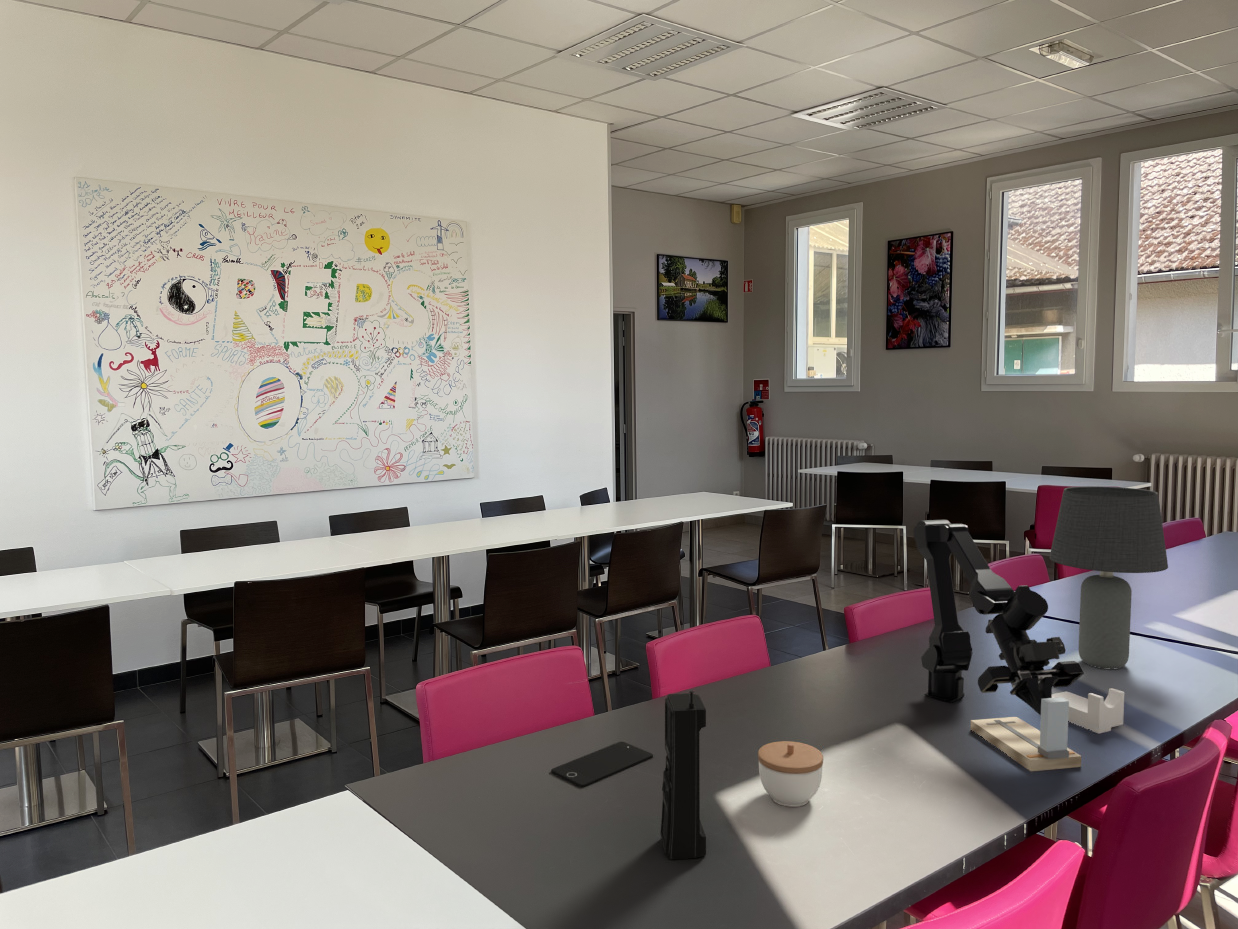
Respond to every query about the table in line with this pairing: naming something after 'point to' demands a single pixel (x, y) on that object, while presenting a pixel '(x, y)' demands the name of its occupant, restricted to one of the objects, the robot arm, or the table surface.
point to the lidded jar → (790, 772)
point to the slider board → (1021, 743)
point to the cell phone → (601, 764)
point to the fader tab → (1054, 728)
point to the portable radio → (682, 777)
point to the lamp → (1108, 561)
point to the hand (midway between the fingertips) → (1050, 720)
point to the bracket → (1095, 710)
